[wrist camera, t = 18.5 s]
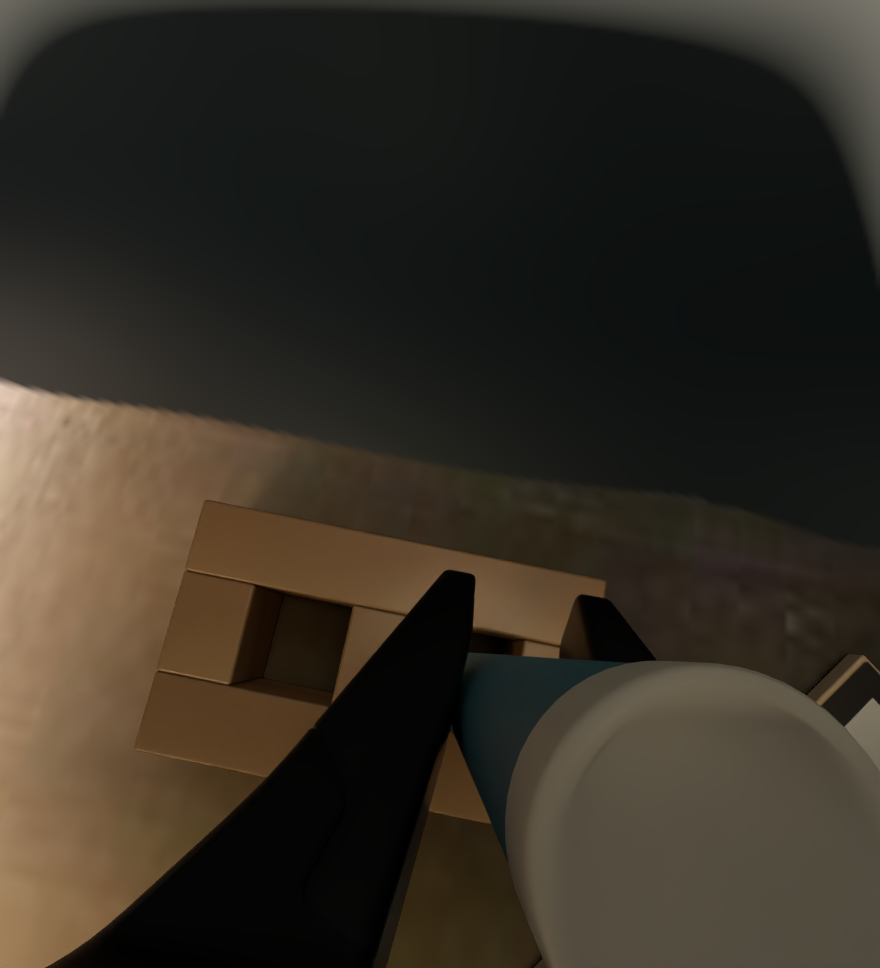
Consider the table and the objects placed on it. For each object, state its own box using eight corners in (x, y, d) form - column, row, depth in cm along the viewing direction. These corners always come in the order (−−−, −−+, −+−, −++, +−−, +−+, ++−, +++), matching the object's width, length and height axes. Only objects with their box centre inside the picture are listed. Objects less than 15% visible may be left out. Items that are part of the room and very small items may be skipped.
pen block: (543, 805, 19) (571, 841, 16) (183, 730, 19) (132, 751, 16) (576, 590, 20) (608, 579, 17) (239, 522, 20) (203, 498, 17)
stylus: (462, 728, 16) (738, 1225, 2) (421, 679, 16) (442, 855, 2) (508, 686, 16) (1015, 892, 2) (467, 638, 16) (720, 584, 3)
